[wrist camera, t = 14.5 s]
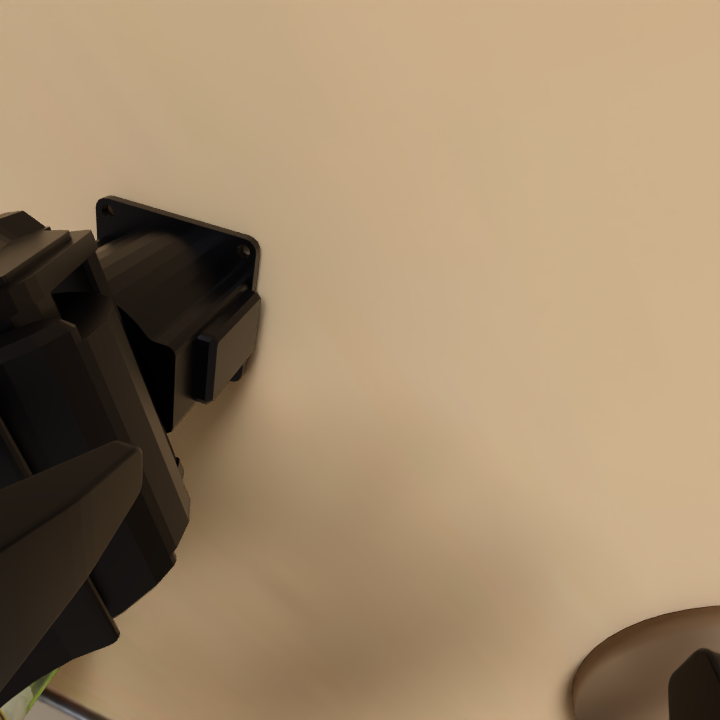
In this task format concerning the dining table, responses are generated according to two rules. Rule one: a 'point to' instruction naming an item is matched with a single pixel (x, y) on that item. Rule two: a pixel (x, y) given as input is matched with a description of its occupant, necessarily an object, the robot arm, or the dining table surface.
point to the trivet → (641, 666)
